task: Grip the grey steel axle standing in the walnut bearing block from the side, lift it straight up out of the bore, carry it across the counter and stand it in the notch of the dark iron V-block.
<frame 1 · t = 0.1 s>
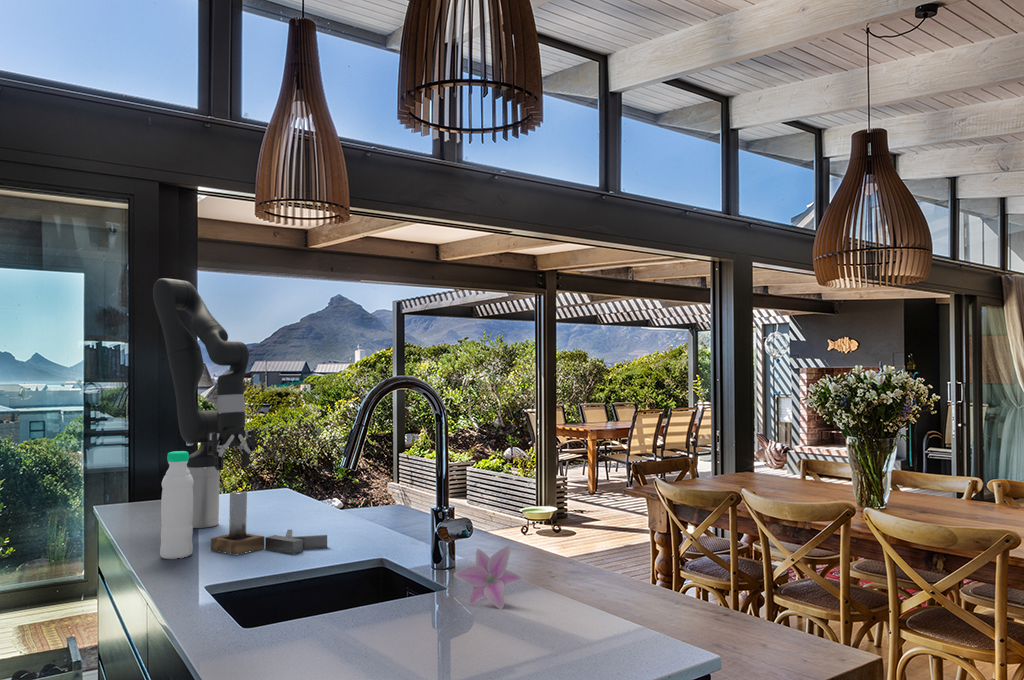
hand: (232, 468, 205), 17 cm above the worktop, tool pointing down, fingers open, 8 cm apart
v block: (302, 545, 185), on the worktop
bearing block: (237, 549, 181), on the worktop
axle: (238, 521, 181), in the bearing block
water bottle: (176, 557, 174), on the worktop
lily: (488, 602, 138), on the worktop
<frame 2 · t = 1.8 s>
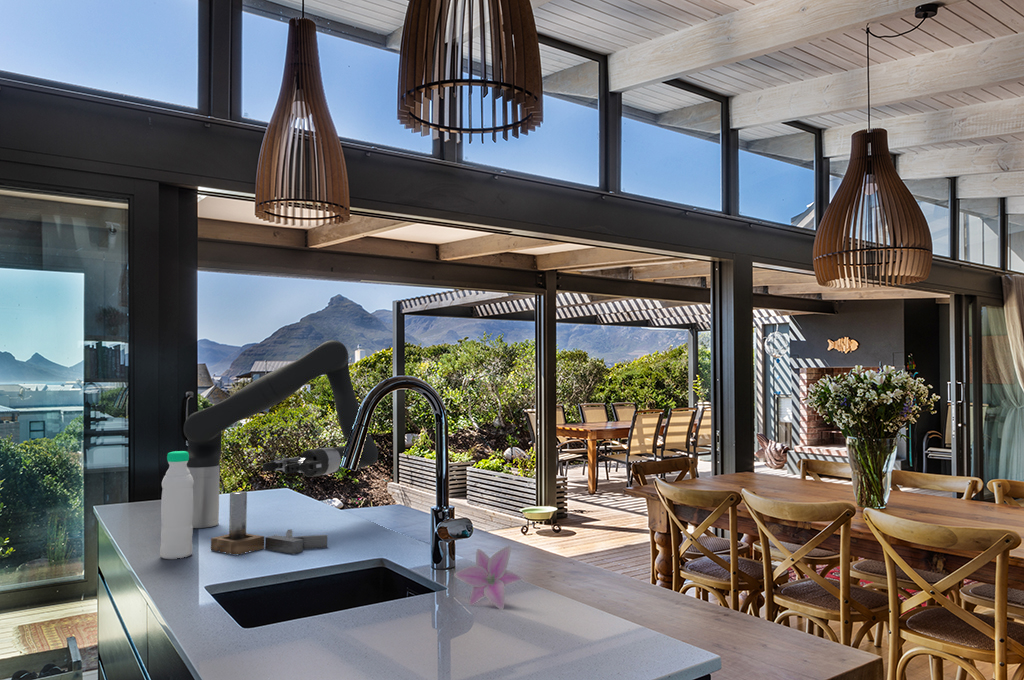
hand: (274, 468, 191), 19 cm above the worktop, tool horizontal, fingers open, 8 cm apart
nothing on the worktop moved.
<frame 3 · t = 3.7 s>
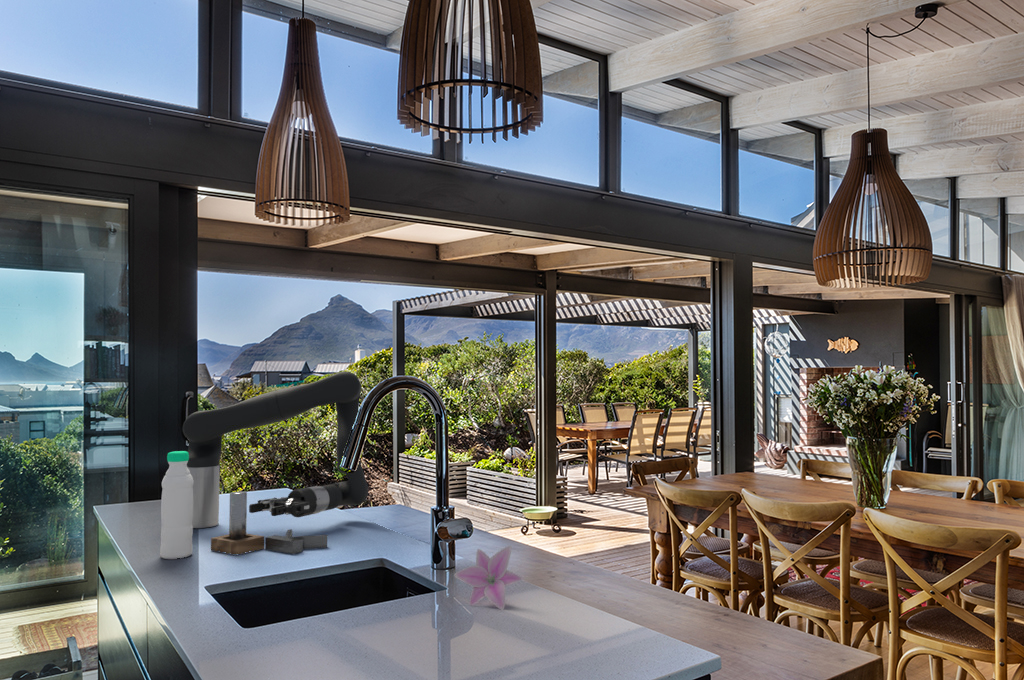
hand: (261, 510, 187), 9 cm above the worktop, tool horizontal, fingers open, 8 cm apart
nothing on the worktop moved.
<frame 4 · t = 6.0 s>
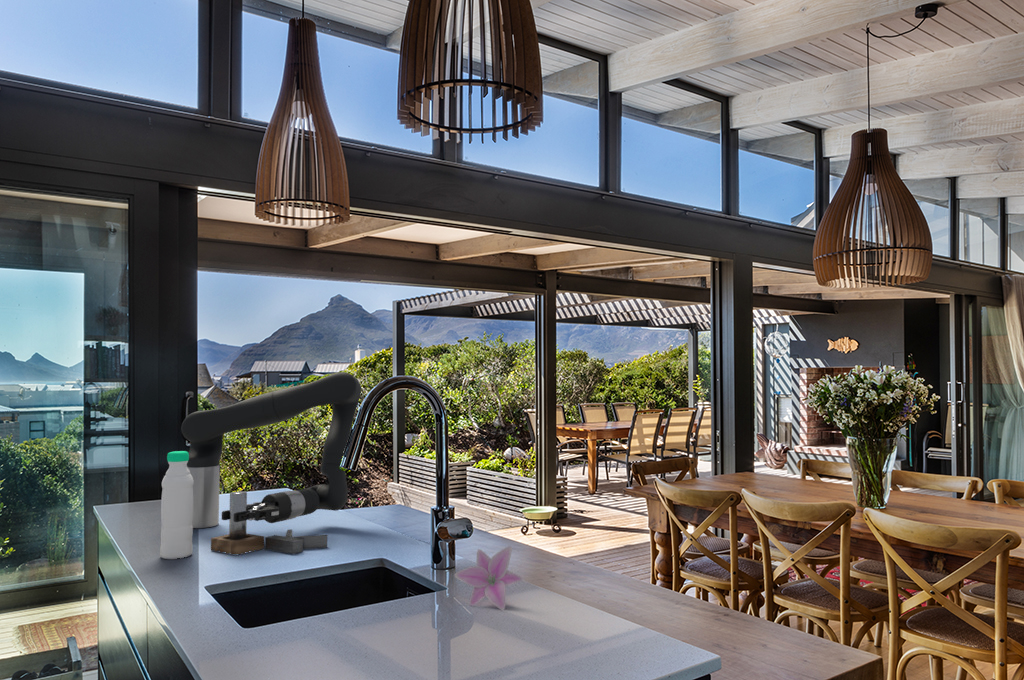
hand: (228, 516, 179), 9 cm above the worktop, tool horizontal, fingers closed on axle, 4 cm apart
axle: (238, 521, 181), in the bearing block, touching gripper
everything else where it was.
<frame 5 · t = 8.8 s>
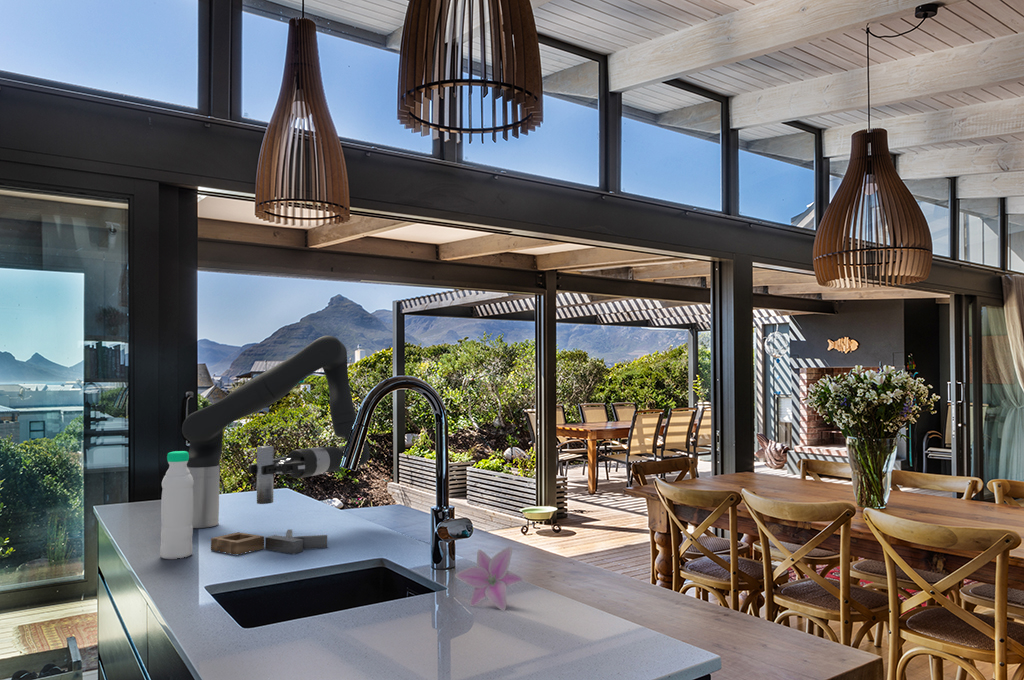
hand: (256, 469, 181), 20 cm above the worktop, tool horizontal, fingers closed on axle, 4 cm apart
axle: (265, 474, 183), point 18 cm above the worktop, touching gripper
everything else where it was.
when the fingers open (9 cm above the worktop, at t = 11.9 s): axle stays where it is, resting in v block.
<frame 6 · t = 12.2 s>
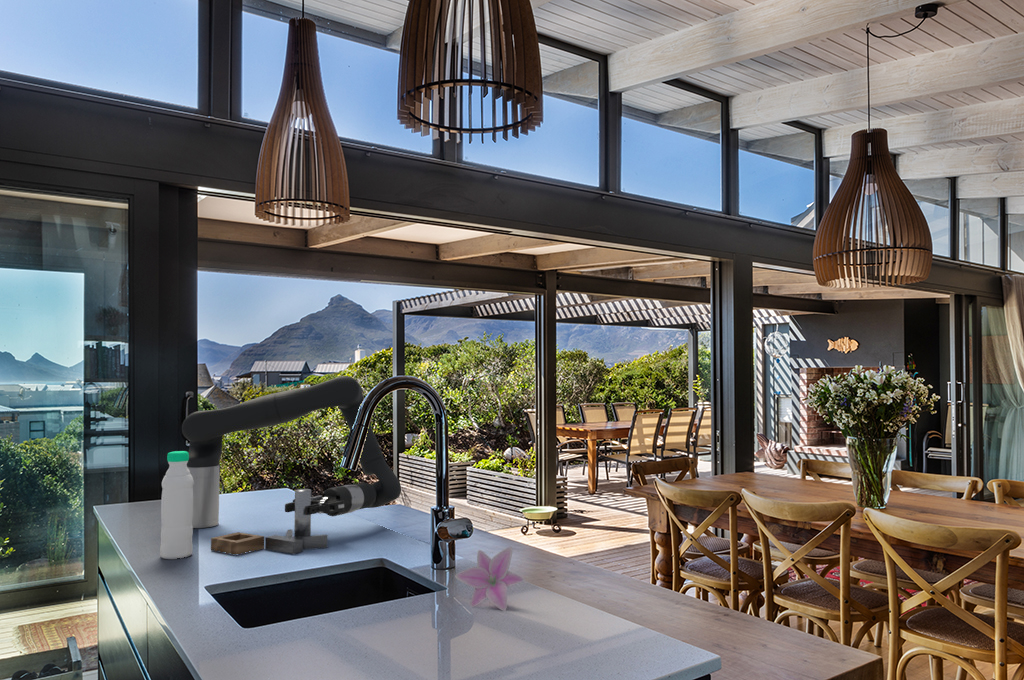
hand: (295, 509, 183), 9 cm above the worktop, tool horizontal, fingers open, 6 cm apart
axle: (302, 517, 185), resting in v block
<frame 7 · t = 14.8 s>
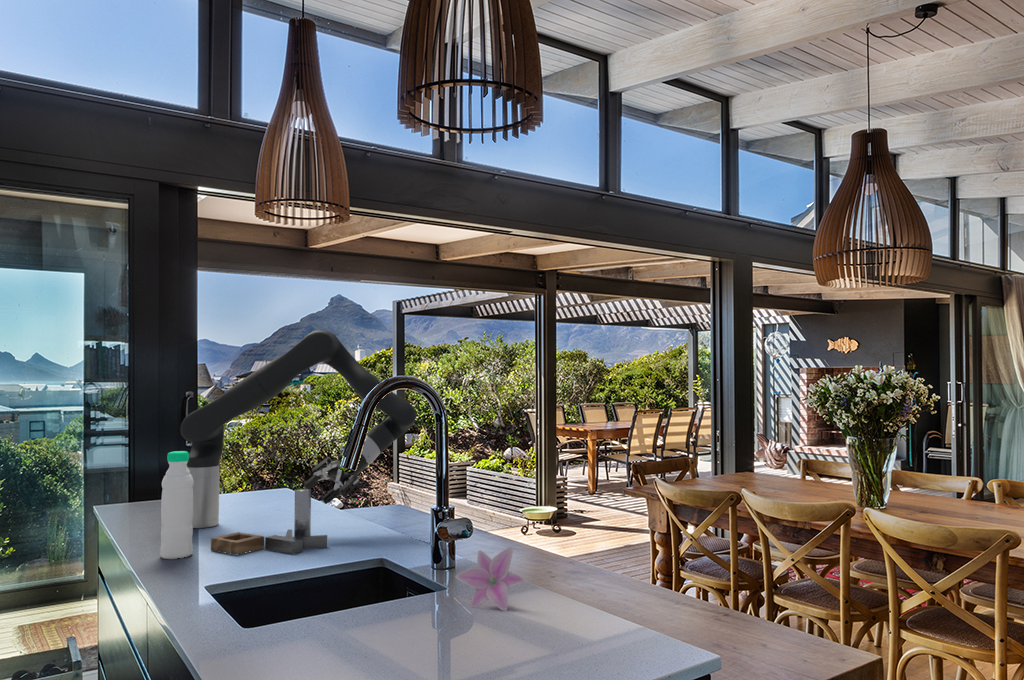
hand: (314, 494, 194), 11 cm above the worktop, tool tilted 55°, fingers open, 8 cm apart
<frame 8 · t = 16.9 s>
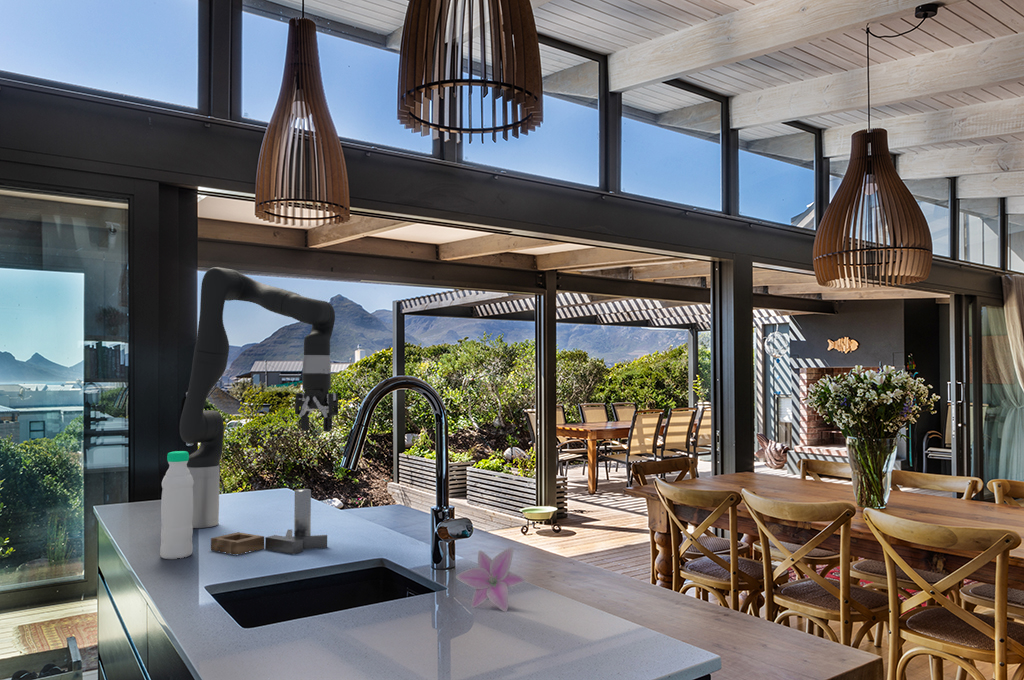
hand: (316, 431, 199), 28 cm above the worktop, tool pointing down, fingers open, 8 cm apart
at the end: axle 0.2 cm off-centre on the v block, point 7.0 cm above the v block's base; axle tilted 0°; the gripper is holding nothing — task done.
